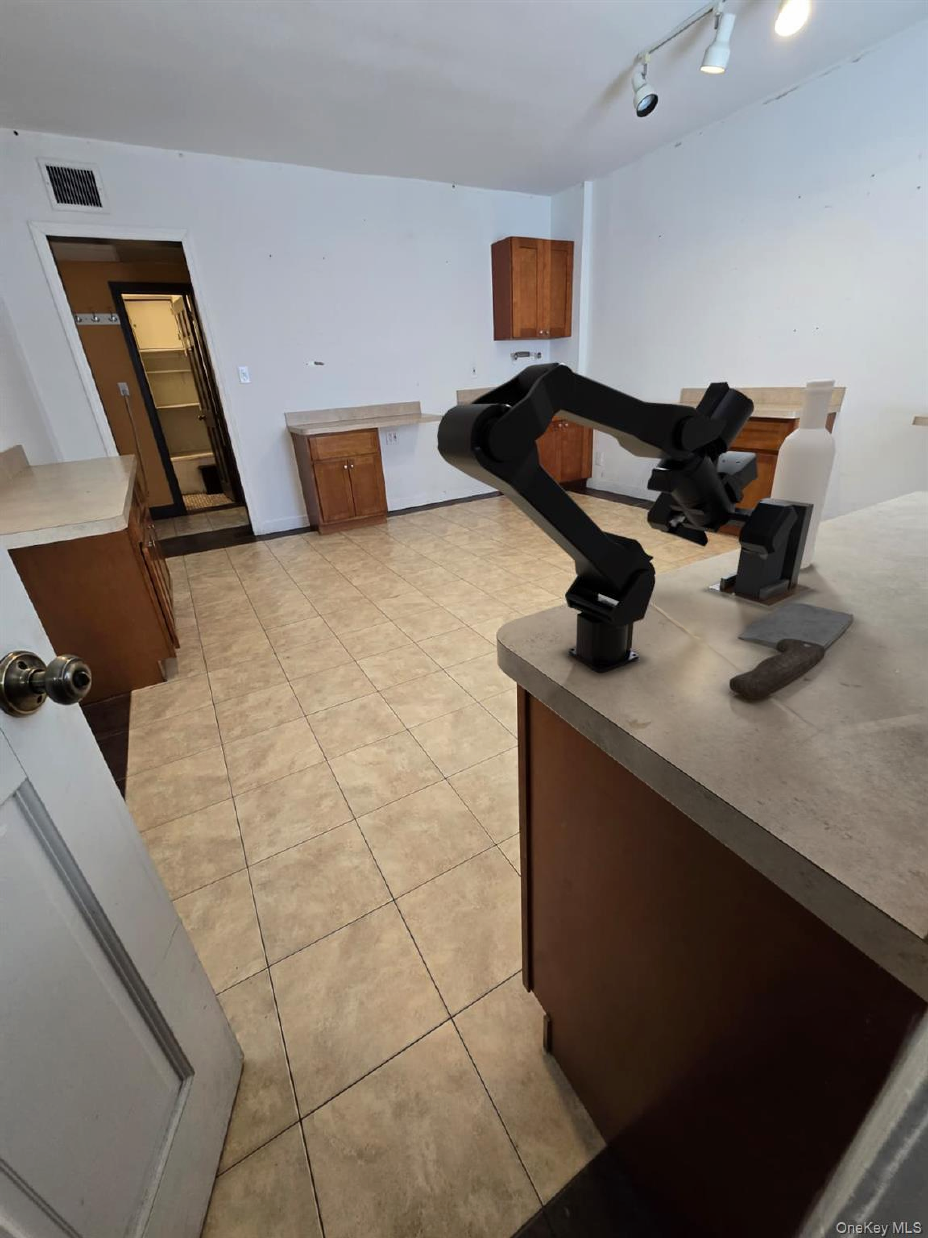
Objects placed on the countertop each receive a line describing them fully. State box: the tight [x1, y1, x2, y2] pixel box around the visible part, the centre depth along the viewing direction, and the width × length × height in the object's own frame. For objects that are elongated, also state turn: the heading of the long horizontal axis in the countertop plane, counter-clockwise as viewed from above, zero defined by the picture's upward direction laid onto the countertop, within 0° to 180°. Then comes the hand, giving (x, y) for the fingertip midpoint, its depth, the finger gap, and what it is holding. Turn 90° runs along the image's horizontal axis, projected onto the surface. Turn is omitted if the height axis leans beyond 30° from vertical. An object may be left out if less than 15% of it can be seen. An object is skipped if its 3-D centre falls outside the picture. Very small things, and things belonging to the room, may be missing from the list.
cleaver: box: [728, 602, 854, 699], centre depth 65 cm, size 29×10×2 cm, turn 133°
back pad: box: [734, 507, 790, 599], centre depth 78 cm, size 5×4×13 cm
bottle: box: [770, 378, 837, 570], centre depth 85 cm, size 8×8×30 cm
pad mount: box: [708, 497, 814, 607], centre depth 79 cm, size 11×10×14 cm
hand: (734, 550), depth 74 cm, fingers open, 9 cm apart
